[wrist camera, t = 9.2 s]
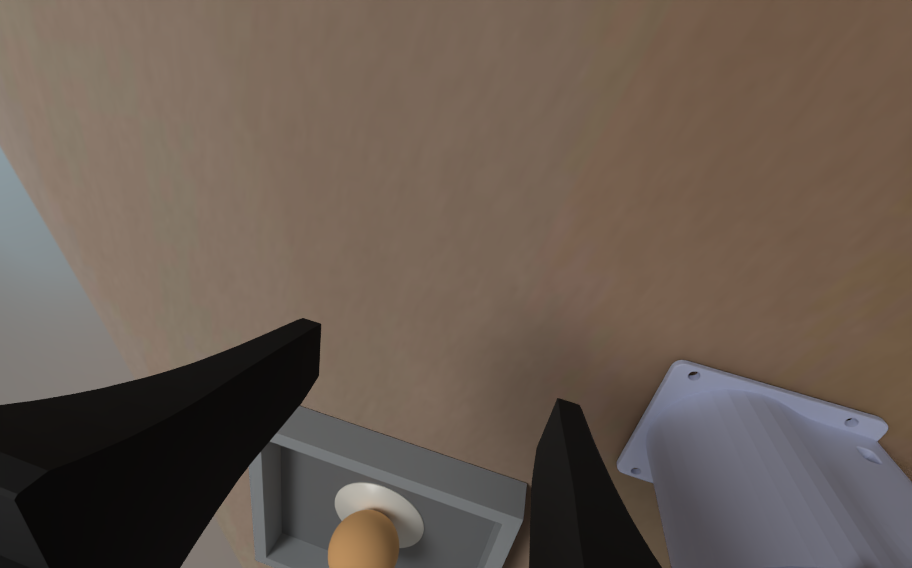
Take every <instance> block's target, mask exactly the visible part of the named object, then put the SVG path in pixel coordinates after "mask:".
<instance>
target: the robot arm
mask: <svg viewBox="0 0 912 568" xmlns="http://www.w3.org/2000/svg"><path fill="white" fill-rule="evenodd" d="M320 340H321V324H320V323H317V322H314V321H311V320H307V319H304V318H302V319H299V320H296V321H294V322H292V323H289V324H287V325H285V326H282V327H280V328H278V329H276V330H273V331H271V332H269V333H267V334H264V335H262V336H260V337H257V338H255V339H253V340H250V341H248V342H246V343H243V344H241V345H239V346H236V347H234V348H231V349H229V350H226V351H223V352H221V353H218V354H216V355H213V356H210V357H208V358H205V359H203V360H200V361H197V362H194V363H191V364H188V365H185V366H182V367H179V368H176V369H173V370H170V371H166V372H163V373H160V374H156V375H153V376H149V377H146V378H142V379H138V380H133V381H129V382H126V383H121V384H117V385H113V386H109V387H105V388H101V389H96V390H91V391H86V392H81V393H76V394H71V395H65V396H59V397H53V398H48V399H41V400H35V401H29V402H20V403H13V404H5V405H0V568H180V567H181V566H182V564H183V562H184V561H185V559H186V557H187V556H188V554H189V553H190V551H191V549H192V548H193V546H194V545H195V543H196V542H197V540H198V539H199V537H200V536H201V534H202V533H203V531H204V529H205V528H206V526H207V525H208V524H209V522H210V520H211V519H212V517H213V516H214V514H215V513H216V511H217V510H218V508H219V507H220V506H221V504H222V503H223V501H224V500H225V498H226V497H227V495H228V494H229V493H230V491H231V490H232V488H233V487H234V485H235V484H236V482H237V481H238V480H239V478H240V477H241V476H242V474H243V473H244V472H245V470H246V469H247V468H248V467H249V465H250V464H251V463H252V462H253V460H254V459H255V458H256V457H257V456H258V455H259V453H260V452H261V451H262V450H263V449H264V447H265V446H266V445H267V444H268V443H269V442H270V440H271V439H272V438H273V437H274V436H275V434H276V433H277V432H278V431H279V430H280V429H281V427H282V426H283V425H284V424H285V423H286V421H287V420H288V419H289V418H290V417H291V415H292V414H293V413H294V412H295V410H296V409H297V408H298V407H299V406H300V404H301V403H302V401H303V400H304V398H305V397H306V395H307V394H308V392H309V391H310V389H311V388H312V386H313V384H314V383H315V381H316V380H317V378H318V376H319V362H320ZM690 372H698V373H697V374H696V375H688V374H689V373H690ZM850 418H852V419H851V420H848V421H846V420H847V419H850ZM887 430H888V425H887V424H886V423H885V421H884V420H883V419H882V418H880V417H878V416H875V415H871V414H868V413H865V412H861V411H858V410H854V409H851V408H847V407H844V406H841V405H837V404H834V403H830V402H827V401H823V400H820V399H817V398H813V397H810V396H806V395H803V394H799V393H796V392H793V391H789V390H786V389H782V388H779V387H776V386H772V385H769V384H765V383H762V382H758V381H755V380H752V379H748V378H745V377H741V376H738V375H734V374H731V373H728V372H724V371H721V370H717V369H714V368H711V367H707V366H704V365H700V364H697V363H693V362H690V361H687V360H678V361H676V362H674V363H673V364H672V365H671V367H670V368H669V370H668V372H667V374H666V375H665V377H664V379H663V381H662V382H661V384H660V386H659V388H658V389H657V391H656V393H655V395H654V397H653V398H652V400H651V402H650V404H649V405H648V407H647V409H646V411H645V412H644V414H643V416H642V418H641V419H640V421H639V423H638V425H637V426H636V428H635V430H634V432H633V433H632V435H631V437H630V439H629V441H628V442H627V444H626V446H625V448H624V449H623V451H622V453H621V455H620V456H619V458H618V460H617V468H618V470H619V471H620V472H621V473H623V474H626V475H629V476H633V477H636V478H639V479H642V480H645V481H648V482H651V483H653V484H654V488H655V493H656V498H657V503H658V507H659V512H660V517H661V521H662V526H663V531H664V535H665V540H666V545H667V550H668V554H669V559H670V564H671V568H912V482H911V481H910V479H909V478H908V477H907V476H906V475H905V474H904V472H903V471H902V470H901V469H900V468H899V466H898V465H897V464H896V463H895V462H894V461H893V459H892V458H891V457H890V456H889V455H888V454H887V452H886V451H885V450H884V449H883V448H882V447H881V445H880V444H879V443H878V442H877V441H878V440H879V439H880V438H881V437H882V436H883V435H884V434H885V433H886V432H887ZM633 468H638V469H633ZM529 568H662V567H661V565H660V564H659V562H658V561H657V559H656V558H655V556H654V555H653V553H652V552H651V550H650V549H649V547H648V545H647V544H646V542H645V540H644V539H643V537H642V536H641V534H640V532H639V531H638V529H637V527H636V525H635V524H634V522H633V520H632V518H631V517H630V515H629V513H628V511H627V509H626V507H625V505H624V504H623V502H622V500H621V498H620V496H619V494H618V492H617V490H616V488H615V486H614V484H613V482H612V480H611V478H610V476H609V474H608V471H607V469H606V467H605V465H604V463H603V460H602V458H601V456H600V454H599V451H598V449H597V447H596V444H595V442H594V440H593V437H592V435H591V432H590V430H589V427H588V424H587V422H586V419H585V417H584V414H583V411H582V409H581V407H580V405H578V404H575V403H572V402H569V401H565V400H562V399H559V398H557V401H556V403H555V406H554V408H553V410H552V413H551V415H550V418H549V420H548V422H547V425H546V427H545V429H544V432H543V434H542V437H541V439H540V441H539V444H538V446H537V450H536V456H535V463H534V470H533V477H532V489H531V520H530V556H529Z"/></svg>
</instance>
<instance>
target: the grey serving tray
mask: <svg viewBox="0 0 912 568" xmlns="http://www.w3.org/2000/svg"><path fill="white" fill-rule="evenodd" d="M249 477H250V491H251V505H252V519H253V533H254V547H255V560H256V561H259V562H261V563H264V564H266V565H269V566H271V567H274V568H329V564H328V548H329V543H330V540H331V537H332V535H333V533H334V531H335V529H336V528H337V526H338V525H339V524H340V523H341V522H342V521H343V520H344V519H345V518H346V517H348V516H349V515H351V514H353V513H355V512H357V511H360V510H375V511H378V512H380V513H382V514H384V515H385V516H387V517H388V518H389V519H390V520H391V522H392V523H393V525H394V526H395V528H396V531H397V534H398V538H399V555H398V559H397V563H396V565H395V568H502V566H503V564H504V562H505V559H506V557H507V555H508V553H509V551H510V548H511V546H512V544H513V542H514V540H515V537H516V535H517V533H518V531H519V528H520V526H521V524H522V522H523V518H524V508H525V498H526V488H527V483H524V482H521V481H518V480H515V479H512V478H509V477H506V476H504V475H501V474H498V473H495V472H492V471H489V470H486V469H483V468H480V467H477V466H474V465H471V464H468V463H465V462H463V461H460V460H457V459H454V458H451V457H448V456H445V455H442V454H439V453H436V452H433V451H430V450H427V449H424V448H422V447H419V446H416V445H413V444H410V443H407V442H404V441H401V440H398V439H395V438H392V437H389V436H386V435H383V434H381V433H378V432H375V431H372V430H369V429H366V428H363V427H360V426H357V425H354V424H351V423H348V422H345V421H342V420H340V419H337V418H334V417H331V416H328V415H325V414H322V413H319V412H316V411H313V410H310V409H307V408H304V407H301V406H299V407H298V408H297V409H296V410H295V412H294V413H293V414H292V415H291V417H290V418H289V419H288V420H287V421H286V423H285V424H284V425H283V426H282V427H281V429H280V430H279V431H278V432H277V433H276V434H275V436H274V437H273V438H272V439H271V440H270V442H269V443H268V444H267V445H266V446H265V447H264V449H263V450H262V451H261V452H260V453H259V455H258V456H257V457H256V458H255V459H254V460H253V462H252V463H251V464H250V465H249Z"/></svg>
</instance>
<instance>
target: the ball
mask: <svg viewBox="0 0 912 568" xmlns="http://www.w3.org/2000/svg"><path fill="white" fill-rule="evenodd" d="M398 555H399V538H398V534H397V531H396V528H395V526H394V525H393V523H392V522H391V520H390V519H389V518H388V517H387V516H385V515H384V514H382V513H380V512H378V511H375V510H360V511H357V512H355V513H353V514H351V515H349V516H348V517H346V518H345V519H344V520H343V521H342V522H341V523H340V524H339V525H338V526H337V528H336V529H335V531H334V533H333V535H332V537H331V540H330V543H329V548H328V564H329V568H395V565H396V563H397V559H398Z"/></svg>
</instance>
